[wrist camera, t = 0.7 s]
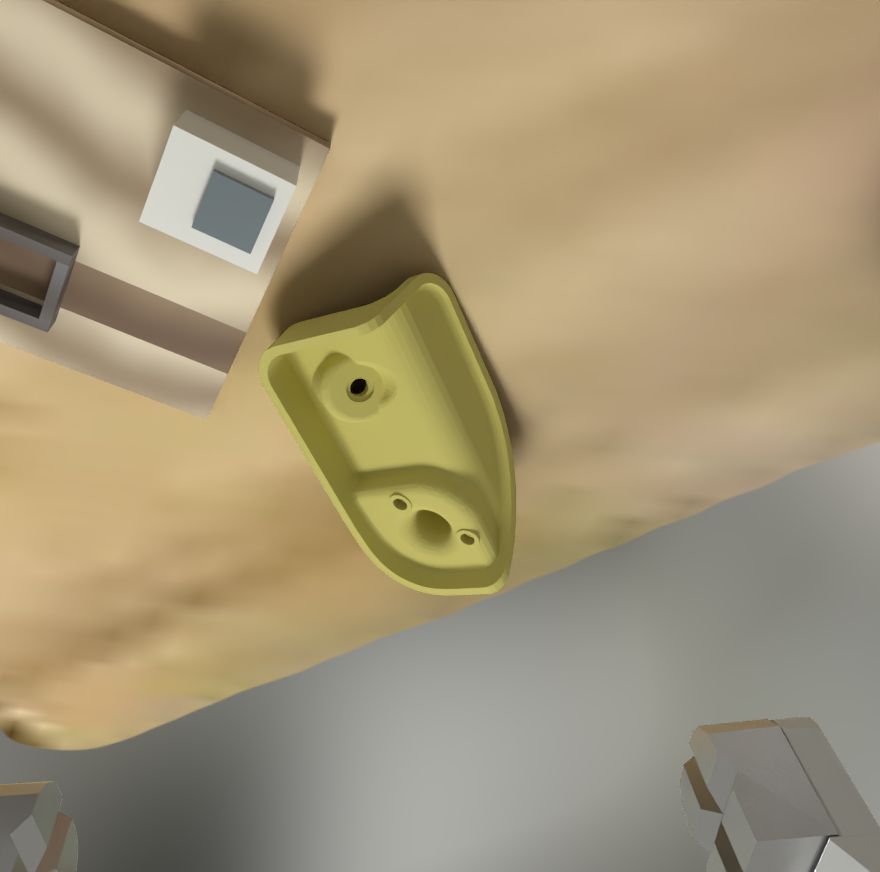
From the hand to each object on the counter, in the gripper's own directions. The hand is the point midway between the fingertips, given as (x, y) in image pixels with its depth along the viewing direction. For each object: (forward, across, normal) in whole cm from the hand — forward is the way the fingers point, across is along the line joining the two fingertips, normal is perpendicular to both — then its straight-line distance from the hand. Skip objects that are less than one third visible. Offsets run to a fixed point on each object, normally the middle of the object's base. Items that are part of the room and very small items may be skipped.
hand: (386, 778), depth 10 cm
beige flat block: (+38, +13, +4) cm, 40 cm away
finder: (+37, +7, +2) cm, 37 cm away
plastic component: (+38, -2, +18) cm, 42 cm away
